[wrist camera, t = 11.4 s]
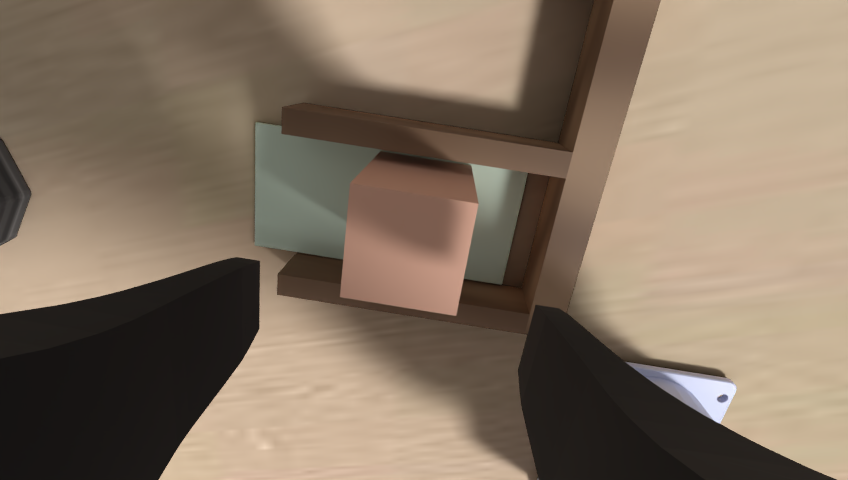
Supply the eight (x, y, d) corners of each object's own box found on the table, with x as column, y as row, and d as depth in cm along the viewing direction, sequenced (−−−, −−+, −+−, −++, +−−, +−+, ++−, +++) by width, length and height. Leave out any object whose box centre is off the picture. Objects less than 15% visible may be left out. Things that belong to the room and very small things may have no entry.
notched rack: (547, 310, 21) (558, 339, 19) (256, 264, 22) (232, 287, 19) (719, -302, 14) (774, -379, 11) (260, -369, 14) (221, -461, 11)
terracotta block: (455, 249, 20) (456, 316, 15) (370, 236, 20) (339, 297, 15) (471, 165, 19) (478, 203, 13) (380, 151, 19) (349, 183, 13)
